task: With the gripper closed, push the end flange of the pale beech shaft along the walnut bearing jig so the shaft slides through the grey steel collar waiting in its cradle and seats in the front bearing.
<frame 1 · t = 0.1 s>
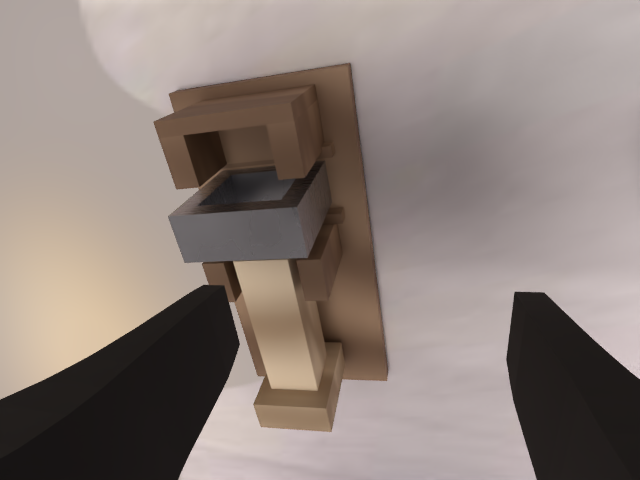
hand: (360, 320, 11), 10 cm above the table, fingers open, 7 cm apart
collar: (276, 186, 20), point 1 cm above the table, touching jig
shaft: (289, 327, 20), point 3 cm above the table, slide at 0.0 cm
jig: (296, 248, 22), on the table
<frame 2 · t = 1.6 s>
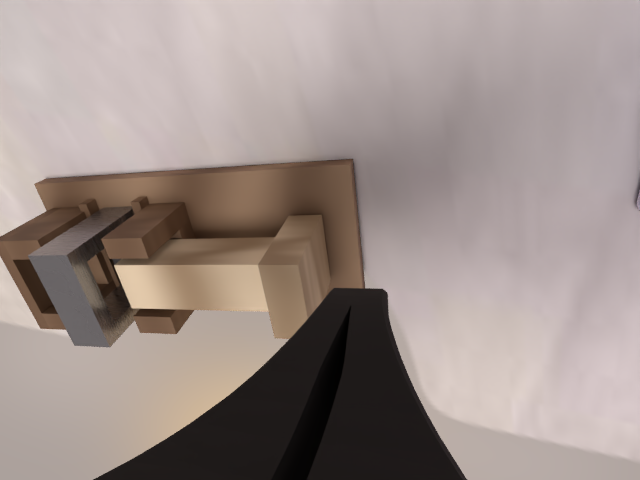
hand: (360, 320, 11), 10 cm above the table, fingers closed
collar: (135, 248, 23), point 1 cm above the table, touching jig
shaft: (222, 273, 19), point 3 cm above the table, slide at 0.0 cm
jig: (204, 240, 23), on the table
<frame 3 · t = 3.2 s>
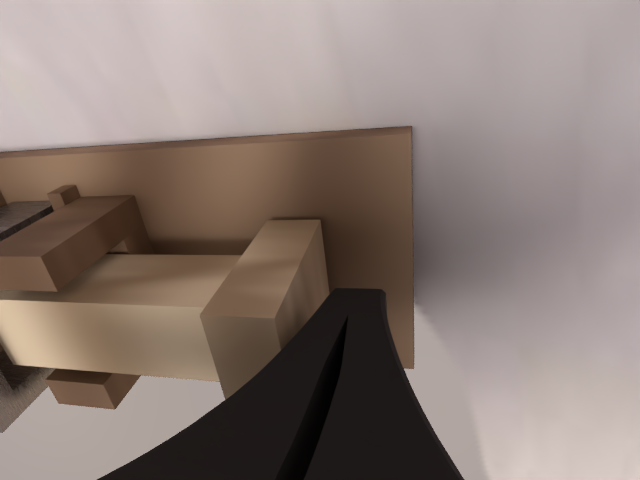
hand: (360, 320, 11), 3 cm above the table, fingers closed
collar: (65, 264, 15), point 1 cm above the table, touching jig
shaft: (157, 312, 12), point 3 cm above the table, slide at 1.0 cm, touching gripper
jig: (170, 253, 15), on the table
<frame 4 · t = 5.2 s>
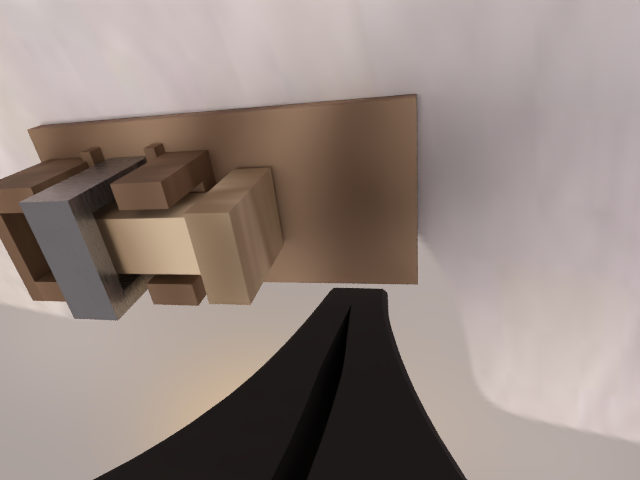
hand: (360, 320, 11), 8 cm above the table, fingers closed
collar: (146, 208, 20), point 1 cm above the table, touching jig
shaft: (156, 232, 17), point 3 cm above the table, slide at 4.3 cm
jig: (228, 199, 19), on the table
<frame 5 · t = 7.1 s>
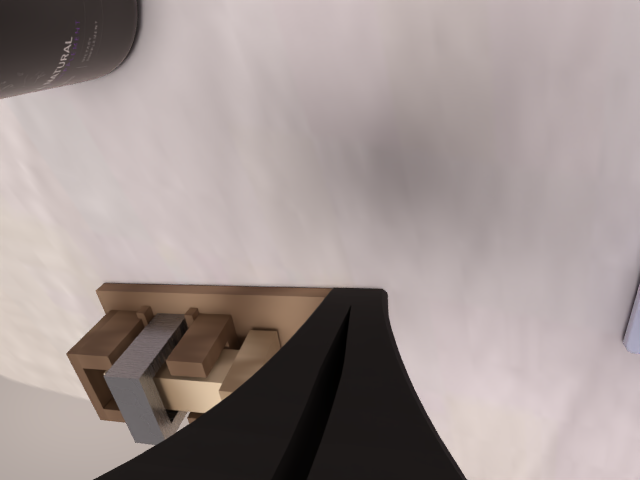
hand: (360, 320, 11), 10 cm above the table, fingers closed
collar: (183, 345, 26), point 1 cm above the table, touching jig
shaft: (194, 378, 23), point 3 cm above the table, slide at 4.3 cm
jig: (245, 340, 26), on the table
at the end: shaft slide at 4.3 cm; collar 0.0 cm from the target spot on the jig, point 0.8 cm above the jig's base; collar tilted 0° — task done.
